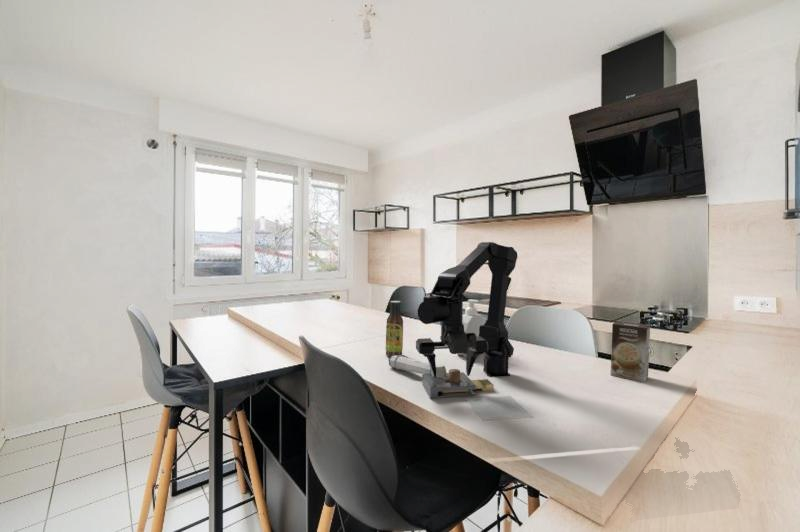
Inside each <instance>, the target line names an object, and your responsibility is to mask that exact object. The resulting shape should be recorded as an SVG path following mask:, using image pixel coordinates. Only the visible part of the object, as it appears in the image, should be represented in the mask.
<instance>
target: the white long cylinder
mask: <svg viewBox="0 0 800 532" xmlns="http://www.w3.org/2000/svg"><path fill="white" fill-rule="evenodd" d="M388 365H389V367H391V368H393V369H396V370H398V371H400V370H402V371H408V372H412V373H417V374H421V375H422V374H431V375H432V376H433V373H432V370H431V367H430V364H429V362H428V363H427V362H424V361H419V360H416V359H412V358H408V357H404V356H403V354H402V355H400V356H396V355H394V356H391V357H390V356H389V358H388ZM447 373H448V372H447V368H446V366H445V365H444V364H436V377H439V378H442V379H443V380H444V381H445V383H448V381H449V377H446V376H447Z"/></svg>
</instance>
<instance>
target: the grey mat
mask: <svg viewBox="0 0 800 532" xmlns="http://www.w3.org/2000/svg"><path fill="white" fill-rule="evenodd" d="M465 400H466V401H467V402H468V404H469V405H470V406H471V408H473V410H474V411H475V413H476V414H477V415H478V416H479V417H480V419H481V420H482V421H483V422H484V421H495V420H497V421H498V420H499V421H500V420H511V419H526V418H527V419H528V418H534V416H533V414H531V413H530V412H529V411H528V410H527V409H526V408H524V406H522V404H520V403H519V402H518V401H517V400H516V399H515V398H514V397H512V396H511V395H506V396H503V395H501V396H500V395H498V396H485V397H483V396H482V397H465Z"/></svg>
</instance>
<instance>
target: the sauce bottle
mask: <svg viewBox="0 0 800 532" xmlns="http://www.w3.org/2000/svg"><path fill="white" fill-rule="evenodd" d="M389 301H390V302H389V315H388V317H387V318H386V325H385V327H386V328H385V355H386V356H387V357H389V358H390V357H391V356H394V355H396V356H400V355H402V356H403V346H404V319H403V317H402V315H401V306H402V302H401V300H389Z"/></svg>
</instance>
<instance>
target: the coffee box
mask: <svg viewBox="0 0 800 532" xmlns="http://www.w3.org/2000/svg"><path fill="white" fill-rule="evenodd" d="M611 329H612V330H611V331H612V332H611V352H610V353H611V354H610V355H611V356H610V357H611V359H610V376H613V377H618V378H623V379H627V380H632V381H636V382H641V383H645V382H646V381H647V380H648V378H649V363H650V338H651V337H650V336H651V325H650V324H645V323H635V322H628V321H621V320H616V321H614V322H613V323H612V328H611Z"/></svg>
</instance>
